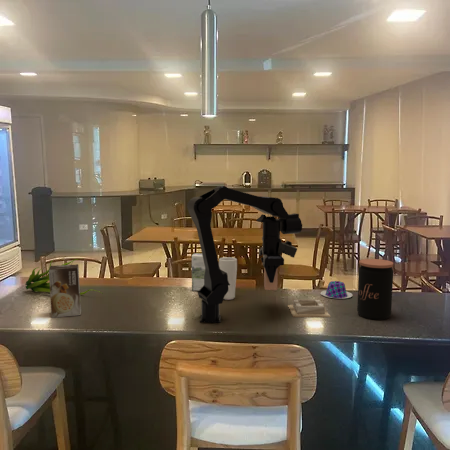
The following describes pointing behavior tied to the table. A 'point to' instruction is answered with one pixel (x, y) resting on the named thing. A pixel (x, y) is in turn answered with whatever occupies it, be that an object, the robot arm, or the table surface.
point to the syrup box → (197, 271)
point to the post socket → (308, 308)
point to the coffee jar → (375, 289)
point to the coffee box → (64, 290)
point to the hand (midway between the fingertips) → (270, 280)
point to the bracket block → (267, 284)
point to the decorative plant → (43, 281)
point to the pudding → (336, 290)
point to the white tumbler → (229, 274)
